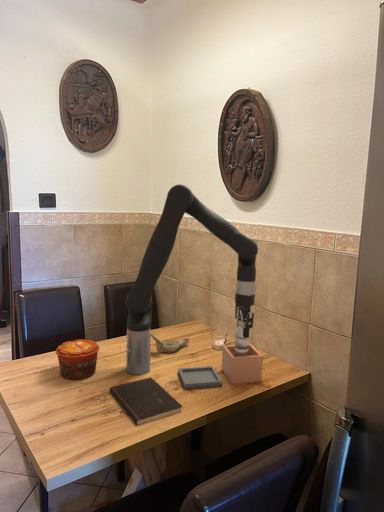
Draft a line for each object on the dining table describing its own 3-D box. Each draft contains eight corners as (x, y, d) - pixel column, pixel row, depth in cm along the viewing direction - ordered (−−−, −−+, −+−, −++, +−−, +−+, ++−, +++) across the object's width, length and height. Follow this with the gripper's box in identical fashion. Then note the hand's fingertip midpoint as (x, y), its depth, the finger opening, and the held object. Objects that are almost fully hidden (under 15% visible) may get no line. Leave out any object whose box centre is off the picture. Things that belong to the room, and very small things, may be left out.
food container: (47, 376, 141) (46, 348, 140) (78, 360, 155) (77, 336, 154) (78, 386, 134) (78, 358, 132) (108, 369, 148) (108, 343, 146)
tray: (184, 389, 134) (184, 384, 134) (178, 373, 146) (178, 368, 146) (222, 386, 137) (222, 381, 137) (212, 370, 150) (212, 365, 149)
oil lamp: (145, 352, 166) (146, 330, 164) (183, 342, 180) (183, 322, 178) (157, 359, 159) (157, 336, 158) (194, 347, 173) (195, 326, 172)
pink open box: (231, 383, 139) (232, 358, 138) (221, 369, 151) (222, 345, 149) (261, 381, 142) (262, 356, 141) (249, 367, 154) (251, 344, 152)
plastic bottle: (248, 366, 149) (251, 318, 147) (249, 374, 143) (252, 323, 140) (232, 365, 150) (234, 317, 147) (232, 373, 143) (234, 322, 141)
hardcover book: (150, 382, 139) (150, 377, 139) (182, 412, 120) (182, 406, 120) (109, 393, 131) (109, 387, 130) (136, 427, 112) (136, 420, 111)
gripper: (229, 287, 148) (227, 328, 150) (242, 296, 134) (239, 341, 136) (247, 287, 149) (245, 327, 152) (262, 296, 136) (259, 340, 138)
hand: (242, 334), depth 144 cm, fingers closed on plastic bottle, 6 cm apart
